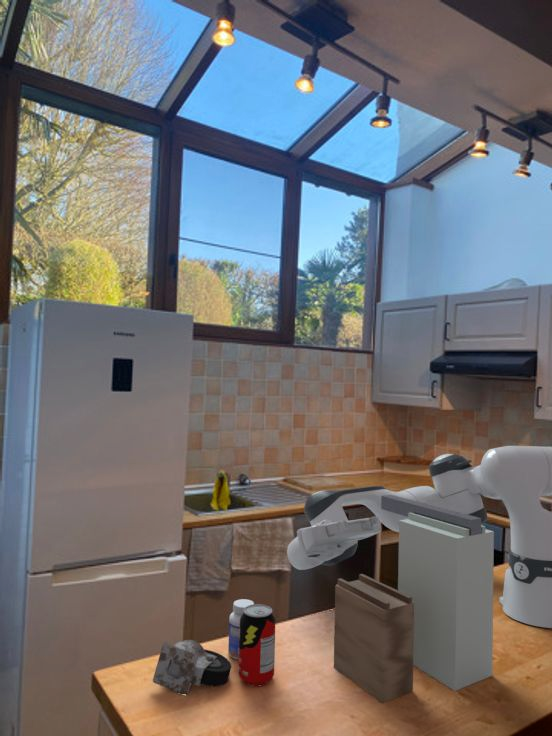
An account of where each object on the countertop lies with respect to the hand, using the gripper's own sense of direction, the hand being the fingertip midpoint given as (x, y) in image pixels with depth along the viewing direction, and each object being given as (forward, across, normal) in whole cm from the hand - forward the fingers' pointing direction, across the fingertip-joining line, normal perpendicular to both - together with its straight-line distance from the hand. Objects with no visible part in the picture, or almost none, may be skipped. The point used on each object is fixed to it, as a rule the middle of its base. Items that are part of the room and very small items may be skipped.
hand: (361, 521), depth 122 cm
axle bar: (+19, 0, -6) cm, 20 cm away
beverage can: (-2, +33, -24) cm, 41 cm away
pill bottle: (-9, +31, -20) cm, 38 cm away
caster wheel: (-6, +42, -22) cm, 48 cm away
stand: (+10, 0, -30) cm, 32 cm away
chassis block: (+7, +15, -29) cm, 33 cm away
